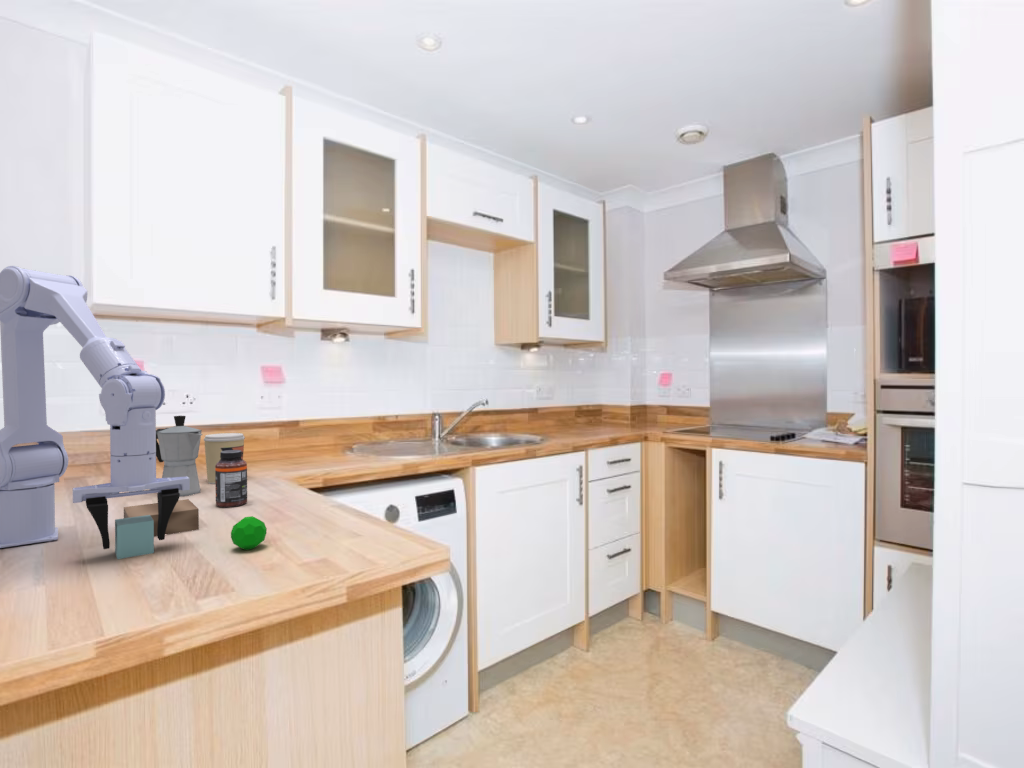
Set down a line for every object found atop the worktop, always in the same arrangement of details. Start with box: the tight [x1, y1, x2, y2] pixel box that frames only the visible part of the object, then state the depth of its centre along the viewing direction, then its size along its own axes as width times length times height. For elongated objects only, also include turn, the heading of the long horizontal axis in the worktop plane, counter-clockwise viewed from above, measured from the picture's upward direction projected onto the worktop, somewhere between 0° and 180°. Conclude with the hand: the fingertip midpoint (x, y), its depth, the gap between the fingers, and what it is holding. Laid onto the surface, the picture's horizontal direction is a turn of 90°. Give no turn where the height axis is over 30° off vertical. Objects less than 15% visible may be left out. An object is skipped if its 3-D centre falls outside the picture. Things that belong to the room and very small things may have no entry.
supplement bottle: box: [215, 450, 248, 508], centre depth 114 cm, size 6×6×11 cm
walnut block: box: [123, 498, 200, 537], centre depth 96 cm, size 10×10×4 cm
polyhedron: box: [230, 515, 267, 551], centre depth 85 cm, size 5×5×5 cm
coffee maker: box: [156, 415, 203, 498], centre depth 126 cm, size 15×9×18 cm, turn 74°
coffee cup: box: [203, 432, 246, 485], centre depth 141 cm, size 9×9×12 cm
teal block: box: [114, 515, 155, 560], centre depth 83 cm, size 4×4×5 cm
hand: (134, 542), depth 83 cm, fingers open, 6 cm apart
